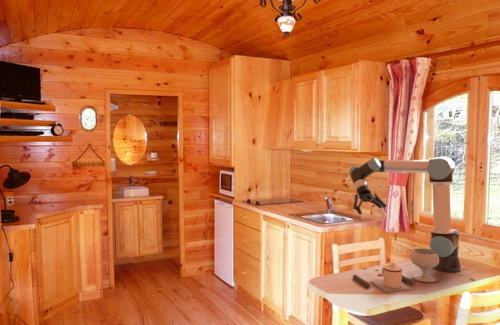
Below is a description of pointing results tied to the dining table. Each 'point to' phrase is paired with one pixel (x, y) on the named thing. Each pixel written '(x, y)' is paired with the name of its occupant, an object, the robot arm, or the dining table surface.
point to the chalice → (424, 263)
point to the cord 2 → (407, 280)
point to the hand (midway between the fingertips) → (374, 218)
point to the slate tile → (387, 289)
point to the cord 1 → (361, 281)
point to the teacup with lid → (392, 275)
